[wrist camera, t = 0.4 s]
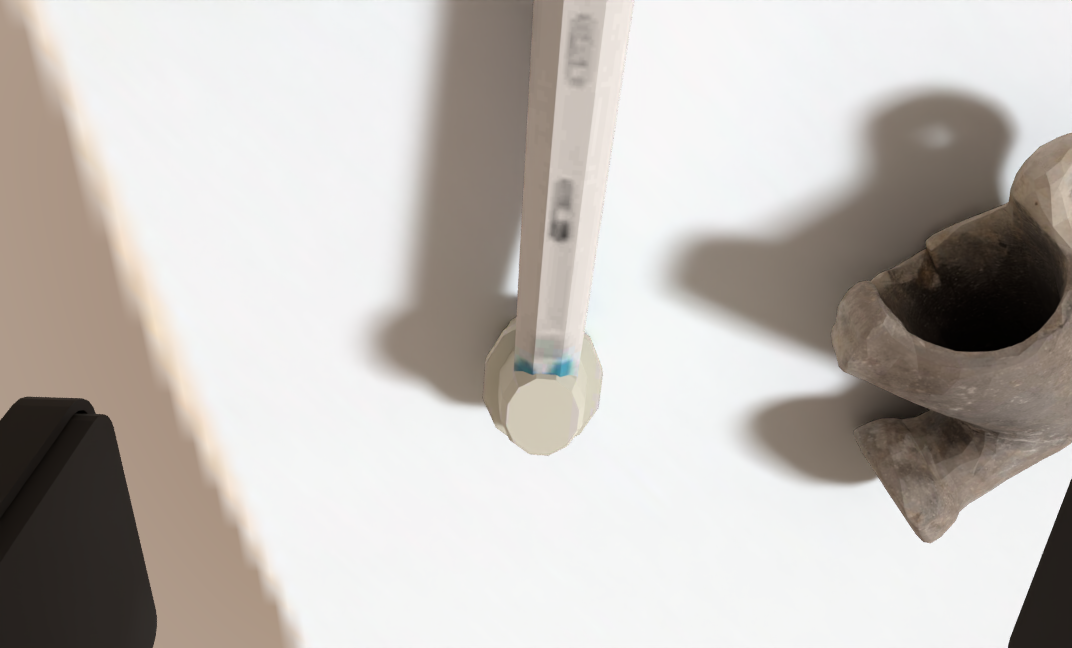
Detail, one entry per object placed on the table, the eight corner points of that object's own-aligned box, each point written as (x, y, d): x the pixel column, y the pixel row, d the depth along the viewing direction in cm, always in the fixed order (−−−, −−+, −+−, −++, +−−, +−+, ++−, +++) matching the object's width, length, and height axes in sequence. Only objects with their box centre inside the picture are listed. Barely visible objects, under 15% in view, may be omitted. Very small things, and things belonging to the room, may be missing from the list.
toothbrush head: (681, -151, 33) (597, 499, 42) (659, -144, 39) (590, 423, 49) (521, -166, 33) (473, 490, 42) (525, -157, 39) (482, 414, 48)
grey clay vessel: (992, 224, 52) (943, 68, 40) (1180, 286, 47) (1187, 127, 35) (838, 498, 51) (741, 423, 39) (1012, 592, 46) (961, 538, 34)
